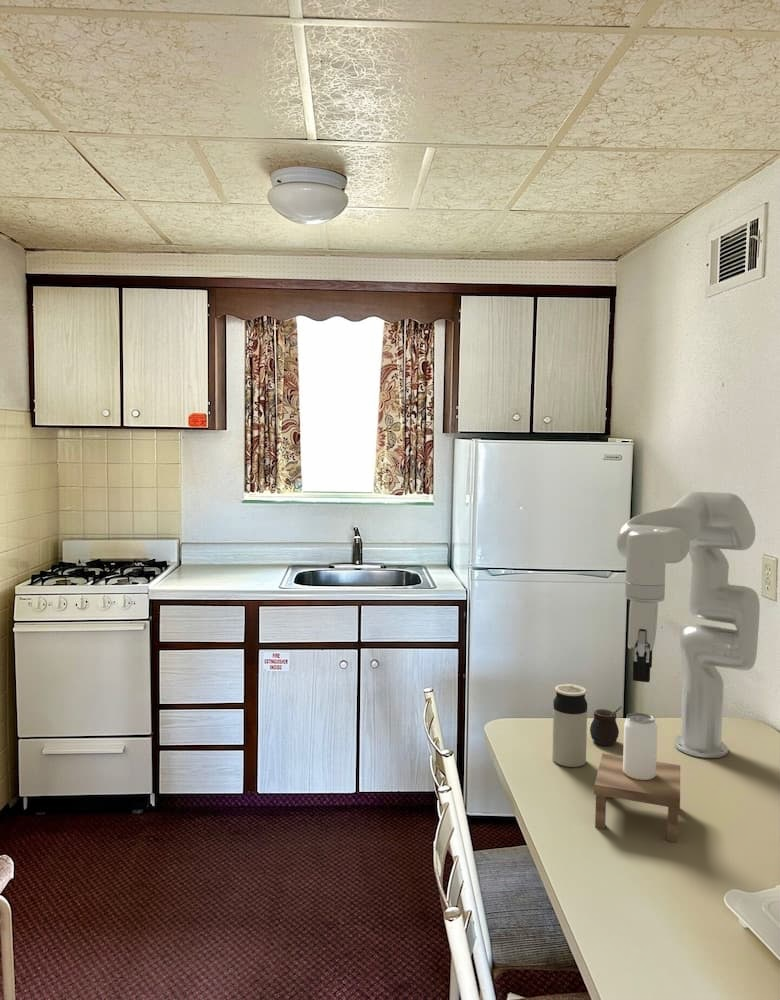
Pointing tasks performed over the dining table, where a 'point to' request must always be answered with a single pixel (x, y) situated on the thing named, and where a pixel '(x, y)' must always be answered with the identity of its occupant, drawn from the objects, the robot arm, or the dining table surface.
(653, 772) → the can
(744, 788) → the dining table surface
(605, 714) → the mate gourd
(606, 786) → the small wooden table
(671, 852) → the dining table surface
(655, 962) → the dining table surface
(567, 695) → the travel mug
